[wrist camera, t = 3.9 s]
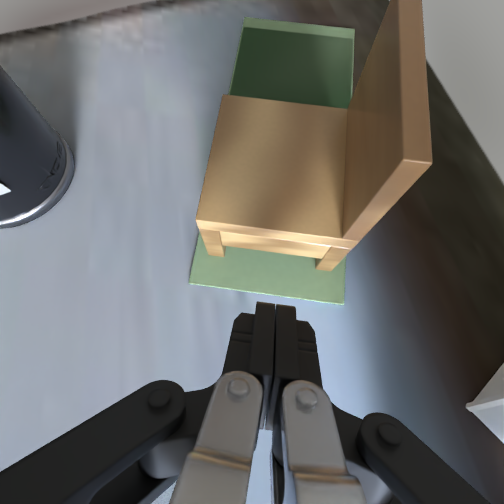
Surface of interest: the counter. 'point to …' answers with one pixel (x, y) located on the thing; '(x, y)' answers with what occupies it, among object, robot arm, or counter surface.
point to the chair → (321, 156)
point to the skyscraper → (491, 404)
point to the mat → (296, 91)
